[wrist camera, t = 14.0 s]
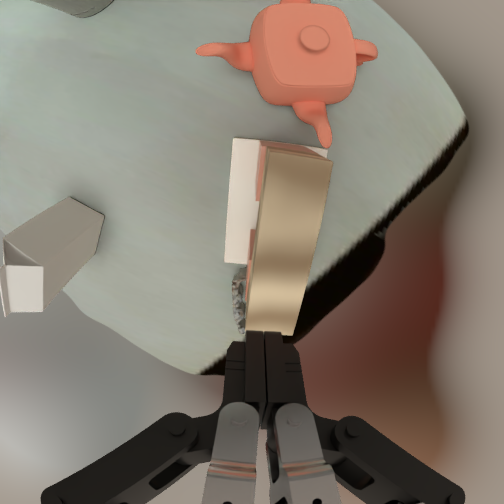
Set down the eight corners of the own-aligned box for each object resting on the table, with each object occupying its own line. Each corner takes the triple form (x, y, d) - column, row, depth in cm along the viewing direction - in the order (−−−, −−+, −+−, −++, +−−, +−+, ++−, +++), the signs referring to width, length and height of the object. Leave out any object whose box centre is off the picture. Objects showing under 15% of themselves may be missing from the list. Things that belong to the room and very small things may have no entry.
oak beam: (266, 145, 22) (269, 151, 18) (317, 153, 22) (333, 162, 18) (246, 300, 29) (245, 331, 25) (287, 303, 30) (292, 335, 25)
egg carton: (231, 264, 39) (229, 280, 35) (285, 263, 39) (288, 279, 35) (235, 322, 43) (234, 340, 40) (282, 321, 43) (284, 339, 40)
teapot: (305, 141, 31) (329, 151, 21) (211, 71, 27) (191, 49, 17) (375, 65, 25) (420, 49, 16) (286, -4, 22) (298, -47, 12)
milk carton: (105, 215, 35) (21, 287, 18) (95, 253, 38) (26, 333, 21) (69, 195, 33) (-20, 254, 16) (62, 234, 36) (-13, 301, 19)
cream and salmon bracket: (234, 137, 31) (226, 143, 22) (324, 148, 31) (350, 159, 22) (225, 256, 38) (217, 297, 29) (304, 263, 38) (317, 305, 30)
